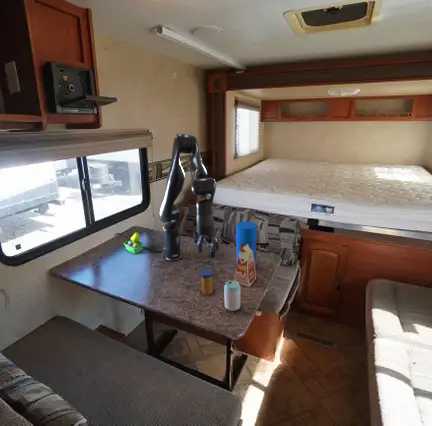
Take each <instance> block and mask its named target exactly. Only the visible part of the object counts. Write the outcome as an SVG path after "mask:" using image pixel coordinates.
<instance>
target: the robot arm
mask: <svg viewBox="0 0 432 426" xmlns="http://www.w3.org/2000/svg"><path fill="white" fill-rule="evenodd" d="M181 154H186V155H191V157H190V158H189V160H188V163H187V169H188V173H189V175H190V178H191V184H190V185H191V186H190V187H191V188H190V190H191V193H192V194H193V195H195V196H204V197H203V198H200V199H198V200H197V201H196V204H195V207H196V217H195V218H196V219H195V220H196V230H195V231H193V243H194V244H195V245H196V246H197V252H198V253H199V254H201V253H203V249H204V248H203V244H204V245H206V247H207V248H208V249H209V257H210V259H211V260H212V259H215V257H216V252H217V251H219V250H220V246H219V243H220V242H219V237H214V235H213V234H214V232H215V227H214V214H213V213H214V212H213V209H214V208H213V204H214V198H215V194H216V190H217V182H216V180H215V179H214V178H213V177H207V175H208V173H207V170H206V168H205V166H204V164H203V161H202V157H201V151H200V147H199V141H198V139H197V137H196V136H195V135H192V134H188V133H187V134H186V133H176V135H175V136H174V139H173V144H172V153H171V159H170V165H169V169H168V174H167V176H166V177H167V178H166V182H165V188H164V193H163V197H162V200H161V203H160V206H159V209H158V219H159V220H160V221H161V222H162V223H163V224H164V223H165V225H164V226H163V227H162V232H163V241H164V242H163V247H161V248H160V249H152V248H149V247H146V246H144V245H143V246H142V249H145V250H149V251H151V252H157V253H158V252H161V251H162V253H163V254H164V257H165V259H166V260H167V261H171V262H173V261H179V260H181V258H182V250H181V249H182V248H181V236H180V226H181V213H180V209H179V206H178V205H177V204H175V202H176V200H177V198H178V197H179V195H180V194H181V193H182V191H183V189H184V185H185V181H186V174H185V171H184V169H183V167H182V164H181V160H180V156H181ZM116 233H117V234H116ZM116 233H114V235H115V236H116V235H121V236H125V237H127V238H129V239H131V237H132V236H130V235H127V234H124V233H122V232H116Z"/></svg>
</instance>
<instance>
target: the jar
mask: <svg viewBox="0 0 432 426" xmlns="http://www.w3.org/2000/svg"><path fill="white" fill-rule="evenodd" d="M213 280H214V279H213V276H212V277H211V278H208V279H205V278H202V277H201V292H202V294H203V295H205V296H209V295H212V294H213V293H214V286H213V285H214V283H213Z"/></svg>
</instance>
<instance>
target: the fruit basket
mask: <svg viewBox="0 0 432 426" xmlns="http://www.w3.org/2000/svg"><path fill="white" fill-rule="evenodd" d="M130 237H131V238H130V240H128V241H125V242H123V245H124V246H125V249H126V250H127V251H129V252H130V253H133V254H134V255H136V254H138V253H141V252H142V251H143V248H142V246H143V247H144V243H143V242H141V237H140V234H139V232H134V234H133V235H132V236H130Z"/></svg>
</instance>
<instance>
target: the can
mask: <svg viewBox="0 0 432 426" xmlns="http://www.w3.org/2000/svg"><path fill="white" fill-rule="evenodd" d="M223 290H224V291H223V295H224V308H225V309H227V310H228V311H231V312H235V311H238V310H239V309H240V308H241V284H240V283H238V282H237V281H234V279H231V280H228V281H226V282H225V284H224V286H223Z"/></svg>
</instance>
